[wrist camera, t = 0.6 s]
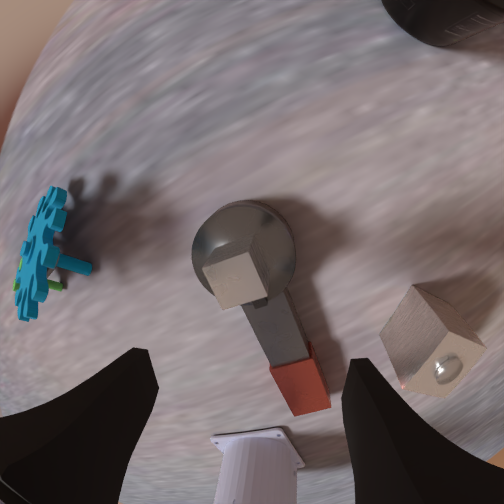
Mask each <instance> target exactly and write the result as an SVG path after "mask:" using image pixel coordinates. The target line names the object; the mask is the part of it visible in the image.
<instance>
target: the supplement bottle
mask: <svg viewBox="0 0 504 504" xmlns="http://www.w3.org/2000/svg"><path fill="white" fill-rule="evenodd" d="M381 1H382V3H383V5H384V7H385V9H386V11H387V12H388V14H389V15H390V16H391V18H392V19H393V20H394V21H395V22H396V23H397V24H398V25H399V26H400V27H401V28H402V29H403V30H405V31H406V32H407V33H409V34H410V35H412V36H413V37H415V38H416V39H418V40H420V41H423V42H425V43H428V44H431V45H435V46H449V45H452V44H455V43H457V42H459V41H462V40H464V39H466V38H468V37H470V36H473V35H475V34H477V33H480V32H482V31H484V30H487V29H489V28H491V27H494V26H496V25H499V24H501V23H504V0H381Z"/></svg>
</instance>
